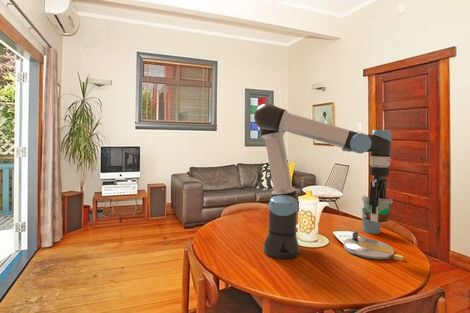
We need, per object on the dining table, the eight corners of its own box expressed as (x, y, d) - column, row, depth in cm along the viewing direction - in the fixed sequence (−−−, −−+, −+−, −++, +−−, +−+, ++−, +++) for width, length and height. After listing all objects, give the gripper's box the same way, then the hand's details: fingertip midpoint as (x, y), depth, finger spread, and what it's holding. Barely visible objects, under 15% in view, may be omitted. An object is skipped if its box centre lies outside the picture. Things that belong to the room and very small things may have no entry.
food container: (360, 220, 124) (361, 197, 123) (360, 217, 129) (362, 194, 129) (392, 224, 119) (394, 200, 118) (392, 221, 124) (393, 198, 124)
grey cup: (377, 229, 160) (378, 207, 159) (384, 235, 150) (386, 212, 149) (358, 228, 161) (359, 206, 160) (364, 233, 151) (365, 211, 150)
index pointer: (393, 258, 119) (393, 255, 119) (394, 257, 121) (395, 253, 121) (401, 260, 117) (401, 257, 117) (402, 259, 119) (403, 256, 119)
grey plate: (340, 240, 139) (340, 229, 139) (385, 244, 135) (385, 232, 135) (348, 256, 120) (349, 243, 119) (400, 261, 116) (401, 248, 115)
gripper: (381, 168, 114) (378, 226, 115) (396, 165, 127) (393, 217, 129) (362, 166, 119) (359, 221, 120) (378, 164, 133) (375, 214, 134)
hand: (376, 219), depth 125 cm, fingers closed on food container, 6 cm apart
